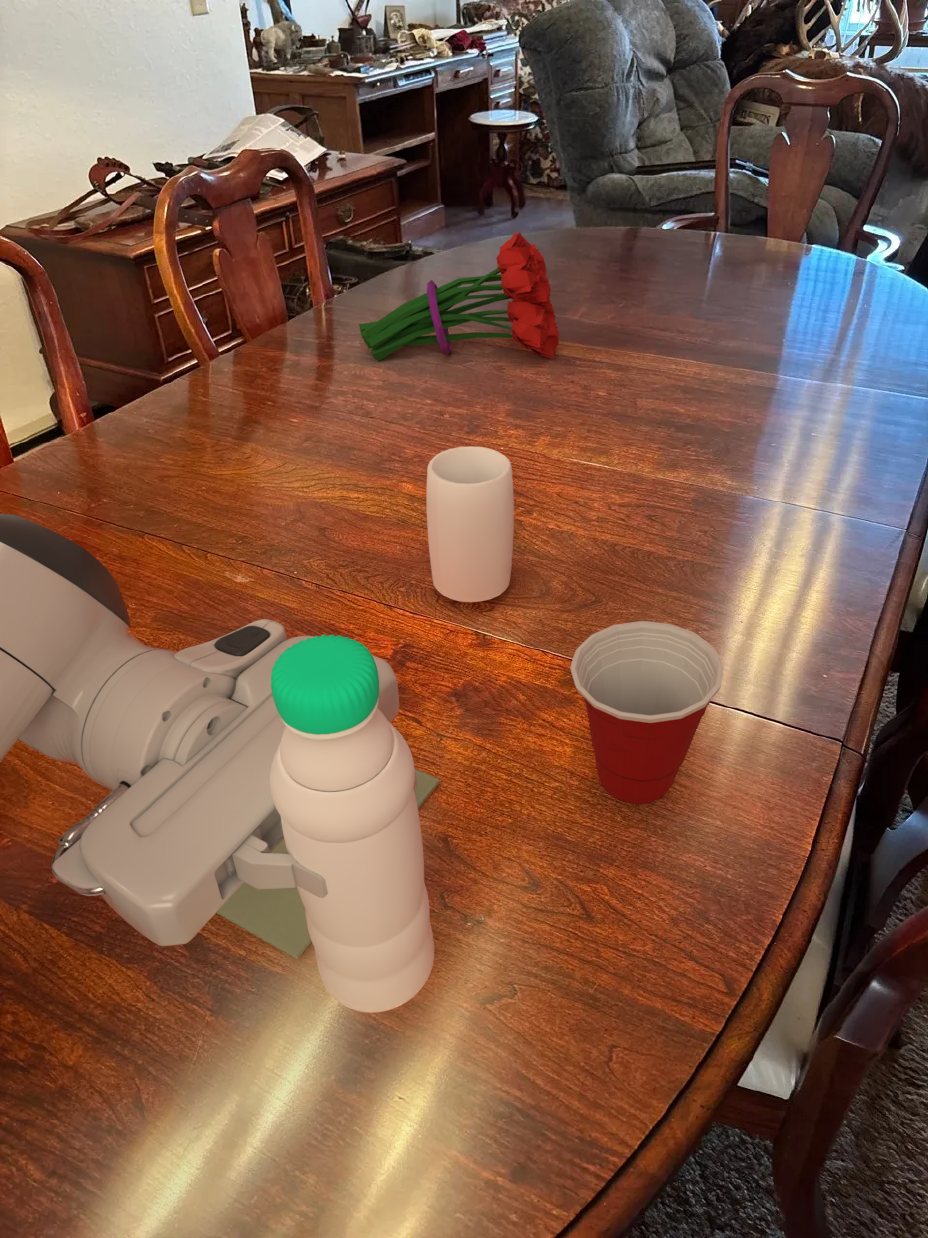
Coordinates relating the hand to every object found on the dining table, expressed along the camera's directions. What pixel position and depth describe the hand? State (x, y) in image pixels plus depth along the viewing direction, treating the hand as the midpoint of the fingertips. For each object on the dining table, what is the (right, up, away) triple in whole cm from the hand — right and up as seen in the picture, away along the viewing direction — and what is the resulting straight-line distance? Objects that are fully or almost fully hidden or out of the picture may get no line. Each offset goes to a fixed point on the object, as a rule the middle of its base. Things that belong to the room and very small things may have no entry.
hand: (373, 830), depth 48 cm
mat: (-9, -4, +23) cm, 25 cm away
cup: (+6, +14, +46) cm, 48 cm away
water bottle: (-1, -10, +8) cm, 13 cm away
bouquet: (+4, +52, +96) cm, 109 cm away
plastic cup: (+18, -2, +25) cm, 31 cm away
